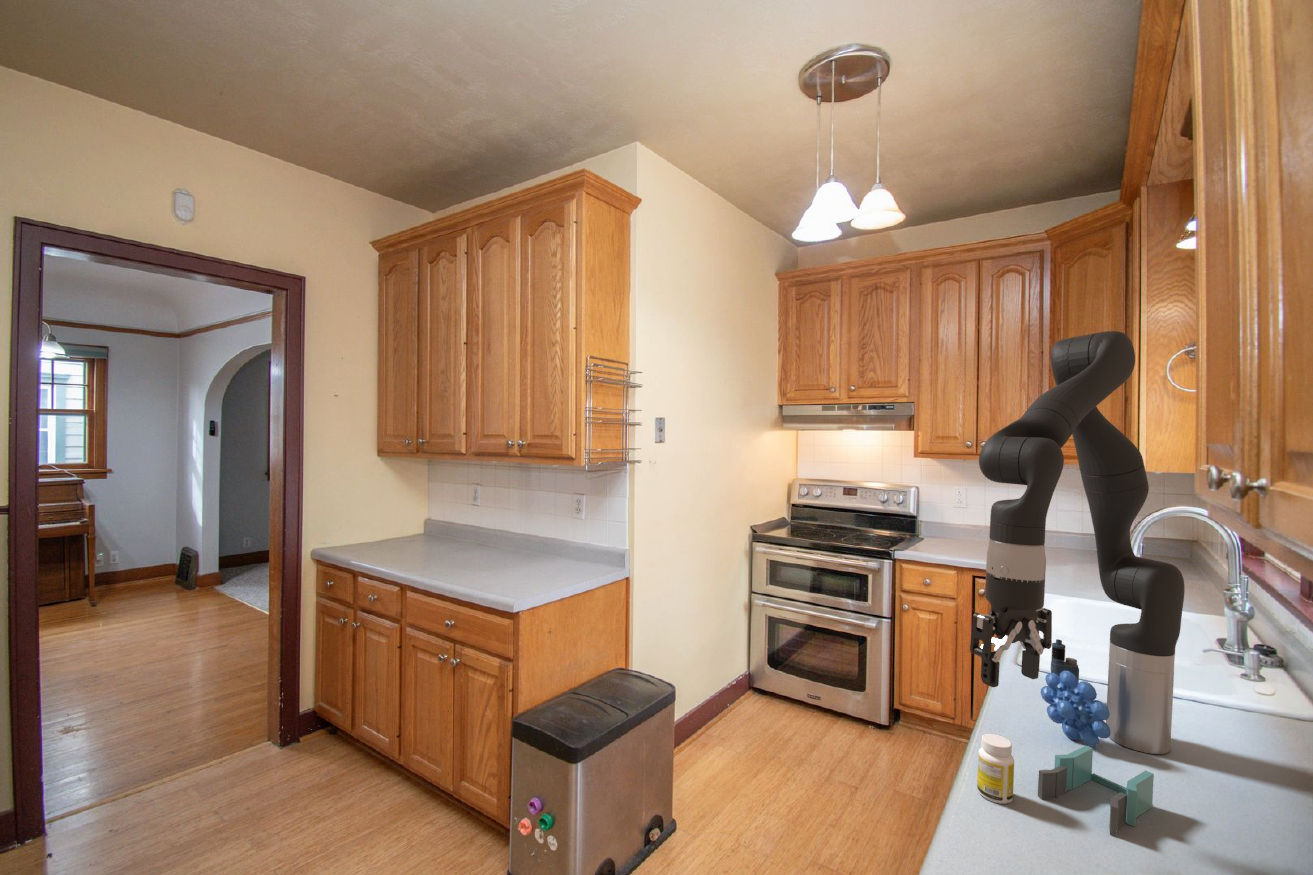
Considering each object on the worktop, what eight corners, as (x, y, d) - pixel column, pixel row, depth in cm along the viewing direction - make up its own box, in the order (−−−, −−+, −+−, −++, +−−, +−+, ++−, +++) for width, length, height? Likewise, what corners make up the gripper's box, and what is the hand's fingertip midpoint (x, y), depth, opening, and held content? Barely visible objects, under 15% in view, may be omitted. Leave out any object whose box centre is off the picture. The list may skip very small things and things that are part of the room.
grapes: (1026, 729, 113) (1028, 665, 112) (1047, 722, 116) (1049, 660, 116) (1095, 761, 102) (1098, 690, 102) (1116, 752, 105) (1119, 684, 105)
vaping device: (1046, 693, 129) (1049, 637, 129) (1073, 695, 128) (1076, 639, 128) (1053, 698, 126) (1055, 641, 126) (1080, 701, 126) (1083, 643, 125)
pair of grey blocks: (1054, 787, 94) (1055, 761, 94) (1133, 826, 85) (1134, 798, 85) (1036, 796, 91) (1037, 770, 91) (1115, 837, 83) (1117, 808, 82)
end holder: (1080, 772, 99) (1081, 741, 99) (1160, 808, 89) (1162, 775, 89) (1052, 787, 94) (1053, 755, 94) (1134, 827, 85) (1135, 792, 85)
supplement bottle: (1000, 786, 94) (1003, 732, 94) (1019, 804, 89) (1022, 748, 89) (970, 785, 94) (972, 731, 94) (988, 804, 89) (990, 748, 89)
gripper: (1023, 563, 95) (1019, 665, 95) (958, 568, 90) (953, 677, 90) (1072, 575, 88) (1067, 684, 89) (1005, 581, 83) (999, 698, 83)
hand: (1010, 680), depth 89 cm, fingers open, 8 cm apart
